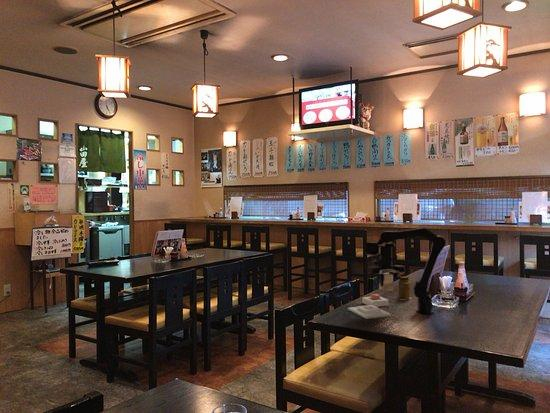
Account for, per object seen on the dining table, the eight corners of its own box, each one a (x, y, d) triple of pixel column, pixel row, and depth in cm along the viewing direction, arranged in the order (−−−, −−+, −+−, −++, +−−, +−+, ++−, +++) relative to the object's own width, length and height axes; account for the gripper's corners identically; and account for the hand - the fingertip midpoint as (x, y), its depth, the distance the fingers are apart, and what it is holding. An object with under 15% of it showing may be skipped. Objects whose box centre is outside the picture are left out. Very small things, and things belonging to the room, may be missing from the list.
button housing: (388, 305, 230) (388, 299, 230) (371, 307, 227) (371, 301, 226) (378, 301, 239) (378, 295, 239) (362, 302, 236) (362, 297, 236)
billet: (393, 290, 219) (393, 274, 219) (384, 291, 218) (384, 275, 218) (387, 288, 224) (387, 273, 224) (379, 289, 222) (379, 273, 222)
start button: (381, 301, 231) (381, 295, 231) (373, 302, 230) (373, 296, 230) (376, 299, 236) (376, 293, 236) (369, 300, 234) (369, 294, 234)
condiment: (412, 298, 246) (412, 277, 245) (402, 300, 241) (402, 279, 241) (402, 296, 252) (402, 275, 251) (392, 298, 247) (392, 277, 247)
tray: (391, 316, 209) (391, 310, 209) (365, 318, 205) (365, 313, 205) (371, 307, 227) (371, 302, 226) (347, 309, 222) (347, 304, 222)
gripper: (393, 252, 231) (393, 282, 231) (362, 254, 225) (362, 284, 226) (405, 255, 220) (405, 286, 221) (373, 257, 215) (373, 288, 215)
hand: (386, 286), depth 221 cm, fingers closed on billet, 5 cm apart
